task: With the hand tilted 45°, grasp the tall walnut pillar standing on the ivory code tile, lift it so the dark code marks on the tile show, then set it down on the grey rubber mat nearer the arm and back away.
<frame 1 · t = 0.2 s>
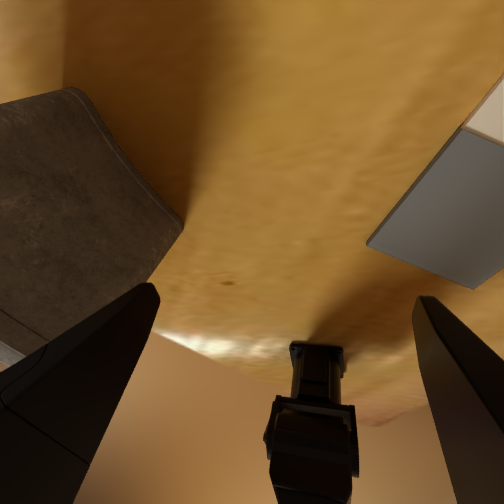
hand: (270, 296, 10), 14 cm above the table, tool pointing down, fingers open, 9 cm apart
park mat: (465, 219, 21), on the table
flask: (127, 172, 25), on the table
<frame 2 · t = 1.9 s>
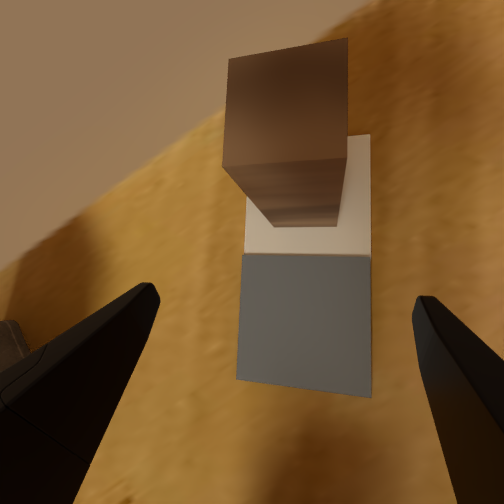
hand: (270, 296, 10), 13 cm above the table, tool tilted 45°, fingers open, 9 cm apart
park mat: (301, 319, 22), on the table
walnut pillar: (305, 197, 23), resting on code tile
code tile: (305, 198, 23), on the table
flask: (35, 378, 28), on the table
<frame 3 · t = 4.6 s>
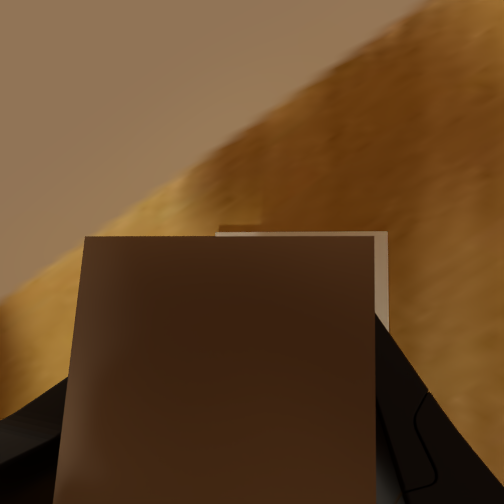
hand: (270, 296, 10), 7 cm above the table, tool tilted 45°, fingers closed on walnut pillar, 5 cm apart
walnut pillar: (292, 318, 16), resting on code tile, touching gripper
code tile: (293, 317, 16), on the table
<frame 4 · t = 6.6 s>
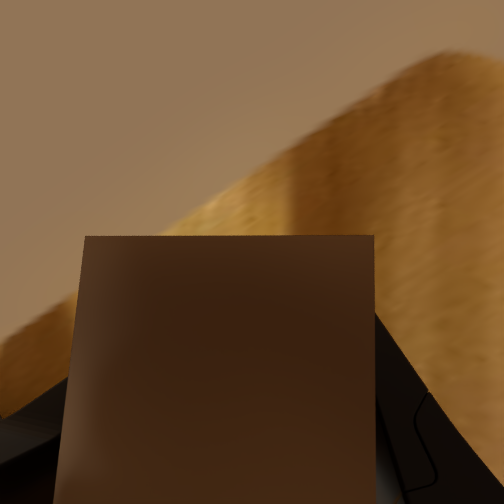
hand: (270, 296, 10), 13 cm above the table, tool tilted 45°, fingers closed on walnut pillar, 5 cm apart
walnut pillar: (292, 318, 16), point 6 cm above the table, touching gripper
when the fingers open (8 cm above the table, at t = 9.1 s): walnut pillar stays where it is, resting on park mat.
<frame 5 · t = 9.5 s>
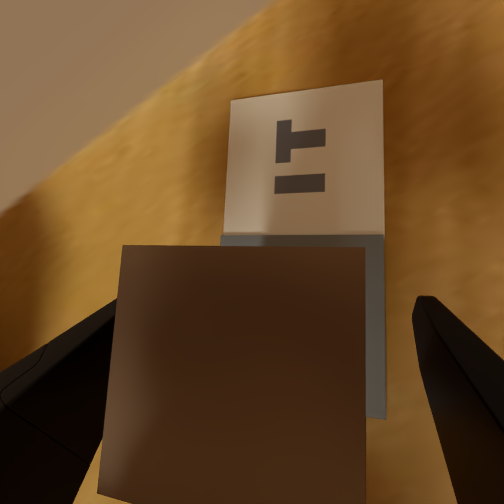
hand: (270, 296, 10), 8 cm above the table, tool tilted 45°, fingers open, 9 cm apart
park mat: (295, 315, 17), on the table
walnut pillar: (294, 317, 17), point 1 cm above the table, touching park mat
code tile: (300, 164, 18), on the table
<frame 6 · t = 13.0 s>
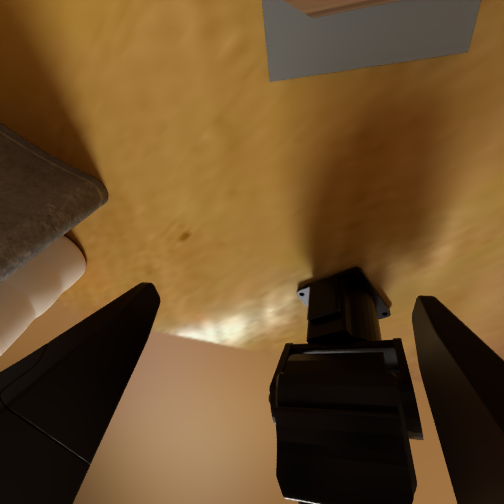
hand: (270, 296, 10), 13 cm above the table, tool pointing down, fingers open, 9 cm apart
flask: (33, 154, 24), on the table
water bottle: (61, 249, 32), on the table
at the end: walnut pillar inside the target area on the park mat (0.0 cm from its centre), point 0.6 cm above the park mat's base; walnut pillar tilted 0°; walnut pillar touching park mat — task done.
